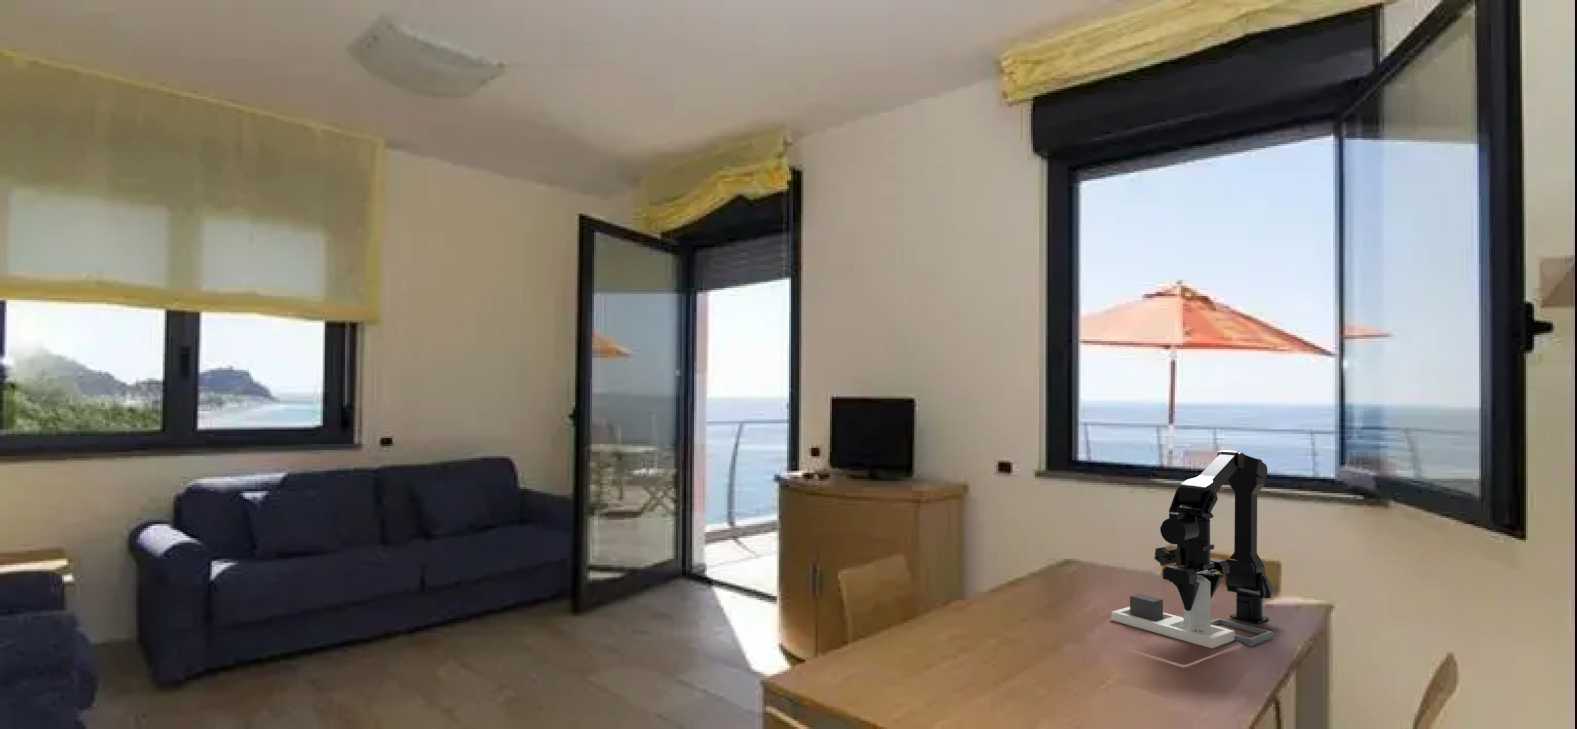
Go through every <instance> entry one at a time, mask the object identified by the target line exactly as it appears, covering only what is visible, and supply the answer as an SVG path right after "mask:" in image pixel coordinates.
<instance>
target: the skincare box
mask: <svg viewBox="0 0 1577 729" xmlns="http://www.w3.org/2000/svg"><path fill="white" fill-rule="evenodd" d="M1196 582H1199V583H1200V584H1199V588H1198V591H1197V594H1196V597H1195V600H1194V603H1193V606H1192V609H1191V611H1187V610H1185V608H1184V607H1183V618H1184V627H1185V628H1186V629H1187V630H1188V631H1192V632H1195V633H1199V634H1203V635H1211V621H1212V618H1211V617H1212V614H1211V612H1212V609H1211V605H1212V602H1211V600H1212V598H1211V588H1210V581H1208V580H1207V579H1206V578H1204V577H1203V576H1202V575H1197V580H1196Z"/></svg>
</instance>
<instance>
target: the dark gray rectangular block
mask: <svg viewBox="0 0 1577 729" xmlns="http://www.w3.org/2000/svg"><path fill="white" fill-rule="evenodd" d="M1129 607H1130V615H1132V616H1136V617H1139V618H1143V619H1147V620H1151V621H1154V622H1157V621H1160V620H1163V613H1164V599H1163V598H1159V597H1155V596H1151V595H1147V594H1142V593H1137V594H1132V595H1130V596H1129Z"/></svg>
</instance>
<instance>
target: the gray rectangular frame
mask: <svg viewBox="0 0 1577 729" xmlns="http://www.w3.org/2000/svg"><path fill="white" fill-rule="evenodd" d="M1211 625H1214V626H1218V625H1224V626H1228V627H1231V628H1235V629H1240V630H1244V631H1247V632H1252V633H1255V634H1257V635H1254V636H1252V637H1246V636H1243V635H1242V636H1241V635H1238V634H1235V640H1234V641H1236V642H1237V641H1238V642H1241V644H1242V645H1244V646H1248V647H1253V646H1255V645H1258V644H1261V643H1263V642H1266V641H1268V640H1271V639H1273V631H1272V630H1269V629H1263V628H1259V627H1255V626H1250V625H1247V624H1243V623H1239V622H1235V621H1231V620H1227V619H1222V618H1219V617H1217V618H1215V619H1211ZM1270 638H1271V639H1270ZM1265 640H1266V641H1265Z"/></svg>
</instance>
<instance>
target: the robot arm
mask: <svg viewBox="0 0 1577 729" xmlns="http://www.w3.org/2000/svg"><path fill="white" fill-rule="evenodd" d="M1267 476H1268V465H1267V464H1266V463H1264V462H1263V460H1262V459H1261V458H1255V457H1253V456H1250V455H1246V454H1245V453H1244V452H1240V450H1238V451H1236V450H1224V449H1223V450H1220V451H1218V453H1217V455H1216V457H1215V458H1214V459H1213V461H1211V463H1210V464H1209V465H1207V467H1206V468H1205V469H1204V470H1203V471H1202V472H1200V474H1199V475H1198V476H1196V477H1192V478H1189V479H1186V480H1184V481H1183V482H1181V483H1180V484H1179V485H1178V487H1177V488H1176V489H1175V493H1174V496H1173V498H1172V501H1171V503H1170V507H1169V509H1168V512H1169V514H1168V518H1167V519H1164V520H1163V521H1162V523H1161V526H1160V528H1159V532H1160V534H1161V535H1160V536H1162V538H1163V540H1164V541H1165V542H1167V543H1168V544H1171V545H1176V548H1172V549H1168V548H1167V547H1166V546H1162V547H1157V548H1155V552H1154V557H1153V558H1154V560H1155V561H1156V562H1157V563H1159V565H1160V567H1164V566H1165V565H1167V566H1165V567H1164V568H1162V570H1161V577H1162V579H1163V580H1167V581H1168V582H1169V583H1172V584H1173V585H1175V587H1176V588H1177V591H1178V593H1179V595H1180V598H1181V601H1182V604H1183V609H1184V608H1185V610H1187V611H1191V609H1192V606H1193V603H1194V600H1195V597H1196V594H1197V591H1198V588H1199V584H1200V583H1199V582H1196V580H1197V575H1202V576H1203V577H1204V578H1206V579H1207V580H1208V581H1210V588H1211V599H1212V598H1213V596H1214V594H1215V592H1216V591H1217V589H1218V587H1219V586H1220V583H1221V582H1222V581H1223V579H1224V582H1225V586H1226V591H1227V592H1232V593H1235V613H1232V614H1230V615H1229V617H1230V618H1232V619H1237V620H1240V621H1245V622H1248V623H1251V624H1257V625H1258V624H1261V623H1264V622H1267V621H1269V620H1270V617H1268V616H1265V615H1264V604H1263V603H1264V600H1263V599H1271V598H1272V595H1273V588H1274V587H1273V586H1272V584H1271V582H1270V580H1269V578H1268V576H1267V574H1266V570H1265V569H1266V568H1265V564H1264V563H1263V561H1262V559H1261V557H1260V556H1259V555H1258V550H1257V549H1258V495H1259V493H1260V491H1261V490H1262V489H1263V487H1264V486H1265V485H1266V478H1267ZM1226 482H1227V483H1228V485H1229V486H1230V488H1231V490H1232V491H1233V493H1234V539H1233V540H1234V543H1233V544H1234V545H1233V546H1234V547H1233V548H1234V550H1233V551H1234V552H1232V554H1231V555H1230V557H1229V558H1227V559H1226V560H1225V559H1222V558H1221V559H1220V558H1216V557H1215V558H1214V557H1211V551H1212V550H1214V549H1215V543H1214V544H1213V543H1211V519H1213V518H1214V514H1213V513H1212V510H1213V509H1214V507H1215V506H1216V503H1217V502H1218V499H1219V498H1218V494H1217V493H1218V491H1219V490H1220V489H1221V488H1222V486H1224V484H1225V483H1226ZM1171 564H1172V565H1171ZM1219 572H1220V574H1219Z"/></svg>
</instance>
